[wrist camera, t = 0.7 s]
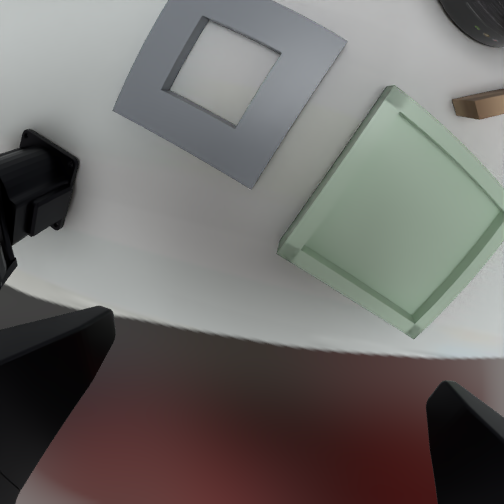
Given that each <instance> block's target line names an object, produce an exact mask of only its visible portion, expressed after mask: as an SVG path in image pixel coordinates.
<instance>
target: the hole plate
mask: <svg viewBox="0 0 504 504" xmlns="http://www.w3.org/2000/svg"><path fill="white" fill-rule="evenodd" d="M209 20H210V21H212V22H215V23H217V24H219V25H222V26H224V27H226V28H229V29H231V30H233V31H235V32H237V33H239V34H242V35H244V36H246V37H248V38H250V39H252V40H254V41H256V42H258V43H260V44H262V45H264V46H266V47H268V48H270V49H272V50H274V51H276V52H277V53H279V54H281V55H280V57H279V58H278V60H277V61H276V63H275V64H274V66H273V68H272V69H271V71H270V72H269V74H268V75H267V77H266V79H265V80H264V82H263V83H262V85H261V87H260V88H259V90H258V91H257V93H256V95H255V96H254V98H253V100H252V101H251V103H250V105H249V106H248V108H247V110H246V111H245V113H244V115H243V116H242V118H241V120H240V121H239V123H238V125H237V126H236V125H234V124H232V123H230V122H229V121H227V120H225V119H223V118H221V117H220V116H218V115H216V114H214V113H212V112H210V111H209V110H207V109H205V108H203V107H201V106H199V105H197V104H195V103H194V102H192V101H190V100H188V99H186V98H184V97H182V96H180V95H178V94H176V93H174V92H172V91H170V90H169V89H170V87H171V85H172V83H173V82H174V80H175V78H176V76H177V74H178V72H179V70H180V68H181V67H182V65H183V63H184V61H185V59H186V58H187V56H188V54H189V52H190V51H191V49H192V47H193V45H194V44H195V42H196V40H197V39H198V37H199V35H200V34H201V32H202V30H203V29H204V27H205V25H206V24H207V22H208V21H209ZM346 43H347V40H345V39H343V38H342V37H340V36H338V35H337V34H335V33H333V32H332V31H330V30H328V29H326V28H325V27H323V26H321V25H319V24H318V23H316V22H314V21H312V20H310V19H308V18H307V17H305V16H303V15H301V14H299V13H297V12H295V11H293V10H291V9H289V8H287V7H285V6H283V5H281V4H279V3H277V2H274V1H272V0H168V2H167V3H166V5H165V7H164V8H163V10H162V12H161V13H160V15H159V17H158V18H157V20H156V22H155V24H154V26H153V27H152V29H151V31H150V33H149V35H148V36H147V38H146V40H145V42H144V44H143V46H142V48H141V50H140V52H139V54H138V56H137V58H136V60H135V62H134V64H133V66H132V68H131V70H130V72H129V74H128V76H127V78H126V80H125V83H124V85H123V87H122V89H121V92H120V94H119V96H118V98H117V101H116V103H115V106H114V108H113V110H112V111H114V112H116V113H118V114H120V115H122V116H124V117H125V118H127V119H129V120H131V121H133V122H135V123H137V124H138V125H140V126H142V127H144V128H146V129H148V130H149V131H151V132H153V133H155V134H157V135H158V136H160V137H162V138H164V139H166V140H167V141H169V142H171V143H173V144H175V145H176V146H178V147H180V148H182V149H183V150H185V151H187V152H189V153H190V154H192V155H194V156H196V157H197V158H199V159H201V160H202V161H204V162H206V163H208V164H209V165H211V166H213V167H214V168H216V169H218V170H219V171H221V172H223V173H225V174H226V175H228V176H230V177H231V178H233V179H235V180H236V181H238V182H240V183H241V184H243V185H244V186H246V187H248V188H249V189H252V188H253V186H254V185H255V183H256V181H257V180H258V178H259V177H260V175H261V173H262V172H263V170H264V169H265V167H266V165H267V164H268V162H269V161H270V159H271V157H272V156H273V154H274V153H275V151H276V149H277V148H278V146H279V145H280V143H281V142H282V140H283V139H284V137H285V135H286V134H287V132H288V131H289V129H290V128H291V126H292V124H293V123H294V121H295V120H296V118H297V117H298V115H299V114H300V112H301V111H302V109H303V108H304V106H305V104H306V103H307V101H308V100H309V98H310V97H311V95H312V94H313V92H314V91H315V89H316V88H317V86H318V85H319V83H320V82H321V80H322V79H323V77H324V76H325V74H326V73H327V71H328V70H329V68H330V67H331V65H332V64H333V62H334V61H335V59H336V58H337V56H338V55H339V53H340V52H341V51H342V49H343V48H344V46H345V45H346Z"/></svg>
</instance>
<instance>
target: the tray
mask: <svg viewBox="0 0 504 504" xmlns="http://www.w3.org/2000/svg"><path fill="white" fill-rule="evenodd" d="M503 241H504V188H503V187H502V186H501V185H500V184H499V182H498V181H497V180H496V179H495V178H494V177H493V176H492V174H491V173H490V172H489V171H488V170H487V169H486V168H485V167H484V166H483V165H482V164H481V162H480V161H479V160H478V159H477V158H476V157H475V156H474V155H473V154H472V153H471V152H470V151H469V150H468V149H467V148H466V147H465V146H464V145H463V144H462V143H461V142H460V141H459V140H458V139H457V138H456V137H455V136H454V135H453V134H452V133H451V132H449V131H448V130H447V129H446V128H445V127H444V126H443V125H442V124H441V123H440V122H439V121H437V120H436V119H435V118H434V117H433V116H432V115H431V114H429V113H428V112H427V111H426V110H425V109H424V108H422V107H421V106H420V105H419V104H418V103H416V102H415V101H414V100H413V99H412V98H410V97H409V96H408V95H407V94H405V93H404V92H403V91H401V90H400V89H399V88H398V87H396V86H395V85H393V86H387V87H386V88H385V90H384V91H383V93H382V94H381V96H380V97H379V99H378V100H377V102H376V103H375V105H374V106H373V108H372V109H371V110H370V112H369V113H368V115H367V116H366V118H365V119H364V121H363V122H362V124H361V125H360V127H359V128H358V129H357V131H356V132H355V134H354V135H353V137H352V138H351V140H350V141H349V143H348V144H347V145H346V147H345V148H344V150H343V151H342V153H341V154H340V156H339V157H338V159H337V160H336V161H335V163H334V164H333V166H332V167H331V169H330V170H329V171H328V173H327V174H326V176H325V177H324V179H323V180H322V182H321V183H320V184H319V186H318V187H317V189H316V190H315V192H314V193H313V194H312V196H311V197H310V199H309V200H308V202H307V203H306V204H305V206H304V207H303V209H302V210H301V212H300V213H299V214H298V216H297V217H296V219H295V220H294V221H293V223H292V224H291V226H290V227H289V229H288V230H287V231H286V233H285V234H284V236H283V237H282V238H281V240H280V241H279V246H278V250H277V254H278V255H279V256H281V257H283V258H284V259H286V260H288V261H289V262H291V263H292V264H294V265H296V266H297V267H299V268H301V269H302V270H304V271H305V272H307V273H309V274H310V275H312V276H314V277H315V278H317V279H318V280H320V281H322V282H323V283H325V284H326V285H328V286H330V287H331V288H333V289H334V290H336V291H338V292H339V293H341V294H343V295H344V296H346V297H347V298H349V299H351V300H352V301H354V302H355V303H357V304H359V305H360V306H362V307H363V308H365V309H367V310H368V311H370V312H371V313H373V314H375V315H376V316H378V317H379V318H381V319H383V320H384V321H386V322H387V323H389V324H390V325H392V326H394V327H395V328H397V329H398V330H400V331H402V332H403V333H405V334H406V335H408V336H409V337H411V338H413V339H415V338H416V337H417V336H418V335H419V334H420V333H421V332H422V331H423V330H424V329H425V328H426V327H427V326H428V325H429V324H430V323H431V322H432V321H433V320H434V319H435V318H436V317H437V316H438V315H439V314H440V313H441V312H442V311H443V310H444V309H445V308H446V307H447V306H448V305H449V304H450V303H451V302H452V301H453V300H454V299H455V298H456V297H457V296H458V294H459V293H460V292H461V291H462V290H463V289H464V288H465V287H466V286H467V284H468V283H469V282H470V281H471V280H472V279H473V278H474V277H475V275H476V274H477V273H478V272H479V271H480V269H481V268H482V267H483V266H484V265H485V263H486V262H487V261H488V260H489V259H490V257H491V256H492V255H493V254H494V252H495V251H496V250H497V249H498V247H499V246H500V245H501V243H502V242H503Z"/></svg>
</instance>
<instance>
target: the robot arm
mask: <svg viewBox="0 0 504 504" xmlns="http://www.w3.org/2000/svg"><path fill="white" fill-rule="evenodd" d="M71 162H72V164H73V166H72V165H71ZM77 169H78V160H77V159H76V158H75V157H74V156H72V155H71V154H69V153H67V152H66V151H64V150H63V149H61V148H59V147H58V146H56V145H55V144H53V143H51V142H50V141H48V140H47V139H45V138H44V137H42V136H40V135H39V134H37V133H36V132H34V131H33V130H31V129H27V130H24V132H23V134H22V139H21V143H20V148H17V149H14V150H11V151H8V152H5V153H2V154H0V289H1V287H2V286H3V284H4V283H5V282H6V280H7V279H8V277H9V276H10V275H11V273H12V272H13V271H14V269H15V268H16V267H17V261H16V258H15V257H14V253H13V249H12V245H14V244H15V243H17V242H18V241H20V240H21V239H23V238H24V237H26V236H27V235H29V236H31V237H32V236H35V235H36V234H38V233H40V232H41V231H43V230H44V229H46V228H47V227H49V226H51V227H52V228H53V229H55V230H59V229H61V228H62V227H63V223H64V218H65V216H66V214H67V209H68V205H69V201H70V197H71V194H72V186H73V183H74V179H75V176H76V172H77ZM57 224H58V225H57ZM115 335H116V334H115V324H114V314H113V311H112V310H111V309H108V308H105V307H103V306H95V307H91V308H87V309H83V310H79V311H75V312H71V313H67V314H63V315H59V316H55V317H51V318H47V319H43V320H39V321H35V322H30V323H26V324H23V325H18V326H14V327H10V328H6V329H2V330H0V504H15V503H16V499H17V497H18V494H19V492H20V490H21V489H22V487H23V486H24V484H25V483H26V481H27V479H28V478H29V476H30V474H31V473H32V471H33V470H34V468H35V467H36V465H37V463H38V462H39V460H40V459H41V457H42V456H43V454H44V452H45V451H46V449H47V448H48V446H49V445H50V443H51V442H52V440H53V439H54V437H55V435H56V434H57V433H58V431H59V430H60V428H61V427H62V425H63V424H64V422H65V421H66V419H67V418H68V416H69V415H70V413H71V412H72V410H73V409H74V407H75V406H76V404H77V403H78V402H79V400H80V398H81V397H82V396H83V394H84V393H85V391H86V390H87V389H88V387H89V386H90V384H91V382H92V381H93V379H94V378H95V376H96V374H97V372H98V370H99V368H100V367H101V365H102V363H103V361H104V359H105V357H106V355H107V353H108V352H109V350H110V348H111V346H112V344H113V342H114V340H115ZM426 412H427V422H428V434H429V446H430V453H431V459H432V466H433V472H434V478H435V486H436V493H437V501H438V504H504V417H502V416H501V415H500V414H498V413H497V412H496V411H494V410H493V409H492V408H490V407H489V406H487V405H486V404H485V403H483V402H482V401H481V400H479V399H478V398H477V397H475V396H474V395H473V394H471V393H470V392H469V391H467V390H466V389H465V388H463V387H462V386H460V385H459V384H458V383H456V382H454V381H442V382H441V383H440V384H439V386H438V387H437V388H436V389H435V391H434V392H433V393H432V395H431V396H430V397H429V398H428V401H427V404H426Z"/></svg>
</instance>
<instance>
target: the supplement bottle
mask: <svg viewBox="0 0 504 504" xmlns="http://www.w3.org/2000/svg"><path fill="white" fill-rule="evenodd" d="M440 2H441V4H442V6H443V8H444V9H445V11H446V12H447V14H448V15H449V17H450V18H451V19H452V20H453V21H454V23H455V24H456V25H457V26H458V27H459V28H460V29H461V30H463V31H464V32H465V33H466V34H468V35H469V36H470V37H472V38H473V39H475V40H477V41H479V42H481V43H483V44H486V45H489V46H493V47H504V0H440Z"/></svg>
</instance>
